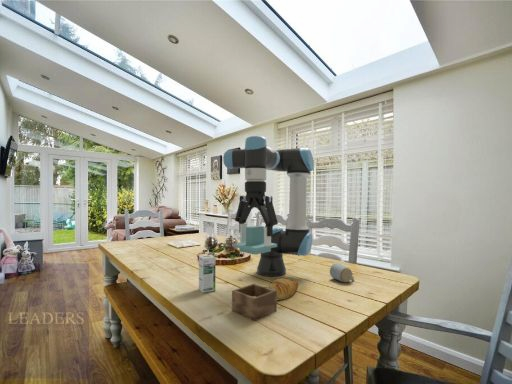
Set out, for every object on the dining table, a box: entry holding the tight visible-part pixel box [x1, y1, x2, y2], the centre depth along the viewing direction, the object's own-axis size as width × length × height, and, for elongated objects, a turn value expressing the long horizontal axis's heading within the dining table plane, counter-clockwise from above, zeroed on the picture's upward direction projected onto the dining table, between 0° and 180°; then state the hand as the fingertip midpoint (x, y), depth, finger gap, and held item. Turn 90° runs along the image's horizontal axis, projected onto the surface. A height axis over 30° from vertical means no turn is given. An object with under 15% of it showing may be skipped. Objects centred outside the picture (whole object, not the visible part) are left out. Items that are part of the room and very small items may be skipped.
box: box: [231, 283, 278, 322], centre depth 96 cm, size 11×11×7 cm
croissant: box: [268, 277, 299, 301], centre depth 112 cm, size 21×10×8 cm, turn 137°
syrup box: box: [198, 254, 216, 294], centre depth 117 cm, size 6×6×14 cm
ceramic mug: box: [329, 262, 355, 283], centre depth 132 cm, size 11×8×8 cm
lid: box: [232, 225, 277, 256], centre depth 96 cm, size 11×11×9 cm
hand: (255, 243), depth 96 cm, fingers closed on lid, 11 cm apart
